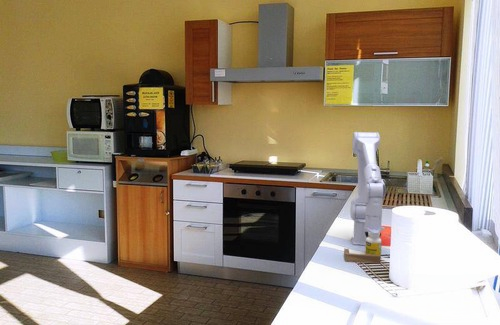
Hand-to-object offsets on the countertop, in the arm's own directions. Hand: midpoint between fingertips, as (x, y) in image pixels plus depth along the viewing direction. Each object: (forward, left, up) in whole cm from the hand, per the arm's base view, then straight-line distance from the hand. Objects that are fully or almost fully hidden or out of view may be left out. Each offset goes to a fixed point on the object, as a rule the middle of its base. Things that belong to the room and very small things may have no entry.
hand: (371, 251), depth 176 cm
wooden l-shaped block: (+5, -4, -1) cm, 7 cm away
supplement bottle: (+4, 0, -2) cm, 4 cm away
